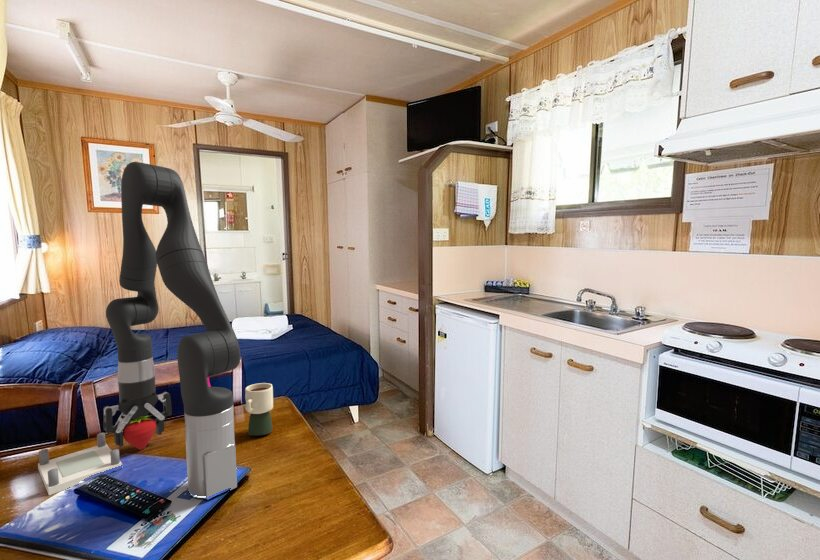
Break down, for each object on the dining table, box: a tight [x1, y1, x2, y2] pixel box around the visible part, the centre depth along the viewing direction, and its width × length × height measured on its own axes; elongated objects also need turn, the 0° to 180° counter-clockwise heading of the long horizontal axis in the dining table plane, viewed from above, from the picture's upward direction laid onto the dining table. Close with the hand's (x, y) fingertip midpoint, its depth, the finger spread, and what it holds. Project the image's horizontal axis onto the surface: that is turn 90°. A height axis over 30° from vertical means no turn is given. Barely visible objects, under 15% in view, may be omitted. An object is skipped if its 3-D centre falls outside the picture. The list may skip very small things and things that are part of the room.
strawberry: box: [122, 414, 157, 451], centre depth 99 cm, size 6×8×10 cm
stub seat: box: [37, 432, 123, 496], centre depth 90 cm, size 15×13×4 cm
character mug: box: [244, 382, 274, 437], centre depth 108 cm, size 11×7×13 cm, turn 169°
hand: (140, 439), depth 100 cm, fingers open, 8 cm apart
